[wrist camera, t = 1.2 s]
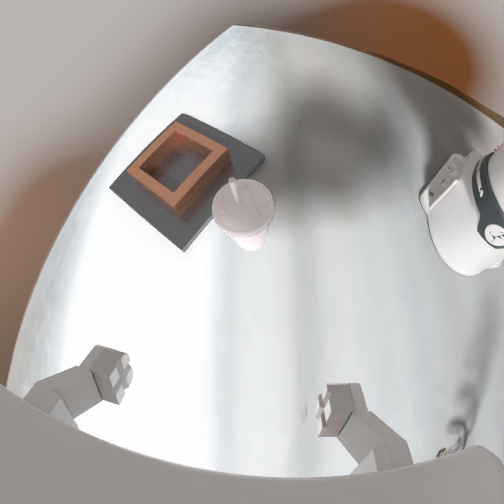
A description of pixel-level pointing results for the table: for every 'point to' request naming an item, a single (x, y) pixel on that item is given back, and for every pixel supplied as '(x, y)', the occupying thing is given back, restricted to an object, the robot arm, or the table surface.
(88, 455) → the robot arm
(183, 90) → the table surface
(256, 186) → the smoothie
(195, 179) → the mount
